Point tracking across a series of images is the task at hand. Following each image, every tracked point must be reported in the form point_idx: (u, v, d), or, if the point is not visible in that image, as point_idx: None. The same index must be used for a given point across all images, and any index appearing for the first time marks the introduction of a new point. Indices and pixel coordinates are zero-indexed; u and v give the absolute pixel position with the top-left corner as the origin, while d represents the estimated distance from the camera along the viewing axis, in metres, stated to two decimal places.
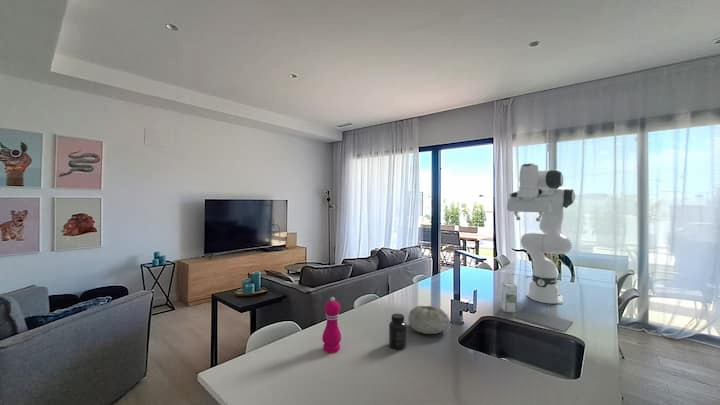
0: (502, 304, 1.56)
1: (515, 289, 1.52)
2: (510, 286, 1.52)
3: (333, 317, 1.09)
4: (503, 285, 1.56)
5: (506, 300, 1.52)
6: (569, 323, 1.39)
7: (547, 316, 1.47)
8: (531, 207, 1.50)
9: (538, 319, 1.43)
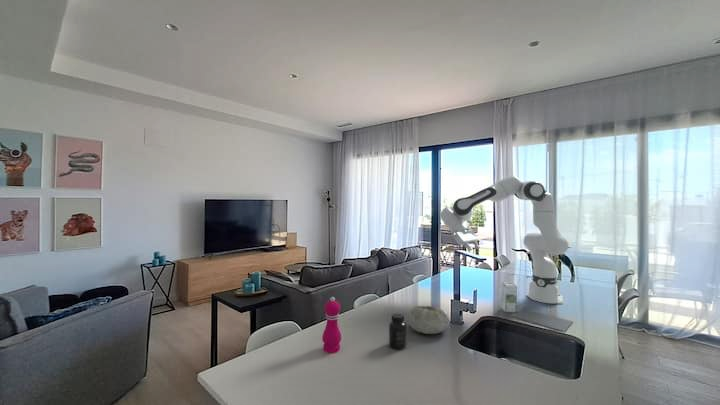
0: (502, 304, 1.56)
1: (515, 289, 1.52)
2: (510, 286, 1.52)
3: (333, 317, 1.09)
4: (503, 285, 1.56)
5: (506, 300, 1.52)
6: (569, 323, 1.39)
7: (547, 316, 1.47)
8: None
9: (538, 319, 1.43)
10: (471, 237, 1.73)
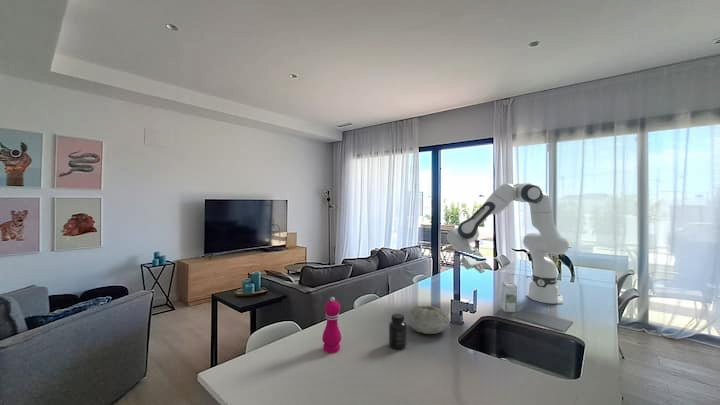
0: (502, 304, 1.56)
1: (515, 289, 1.52)
2: (510, 286, 1.52)
3: (333, 317, 1.09)
4: (503, 285, 1.56)
5: (506, 300, 1.52)
6: (569, 323, 1.39)
7: (547, 316, 1.47)
8: None
9: (538, 319, 1.43)
10: None
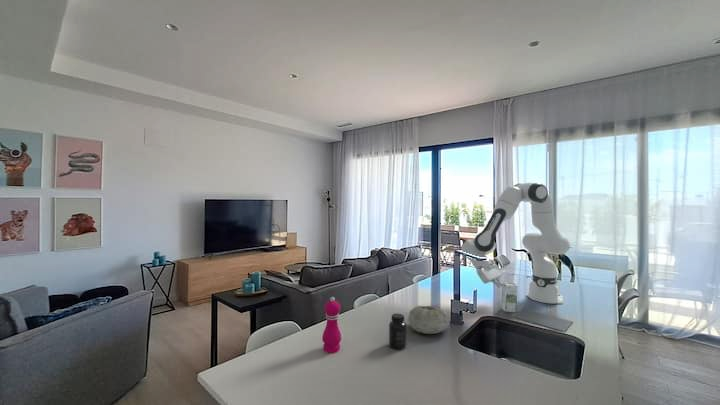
0: (502, 304, 1.56)
1: (515, 289, 1.52)
2: (510, 286, 1.52)
3: (333, 317, 1.09)
4: (503, 285, 1.56)
5: (507, 300, 1.52)
6: (569, 323, 1.39)
7: (547, 316, 1.47)
8: None
9: (538, 319, 1.43)
10: (496, 273, 1.63)
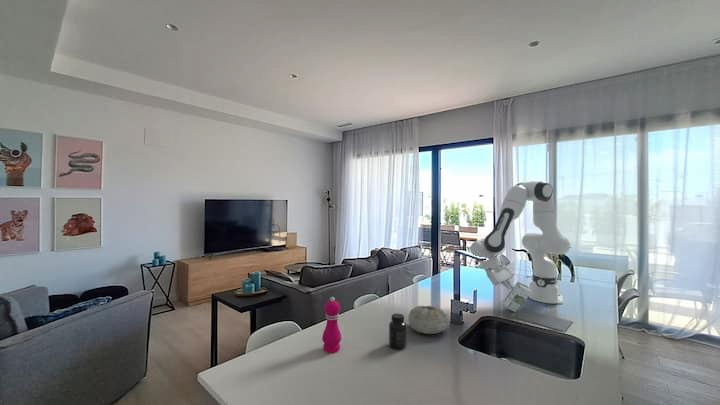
0: (506, 300, 1.55)
1: (527, 293, 1.48)
2: (524, 289, 1.48)
3: (333, 317, 1.09)
4: (517, 285, 1.52)
5: (514, 299, 1.50)
6: (569, 323, 1.39)
7: (547, 316, 1.47)
8: None
9: (538, 319, 1.43)
10: (506, 274, 1.59)
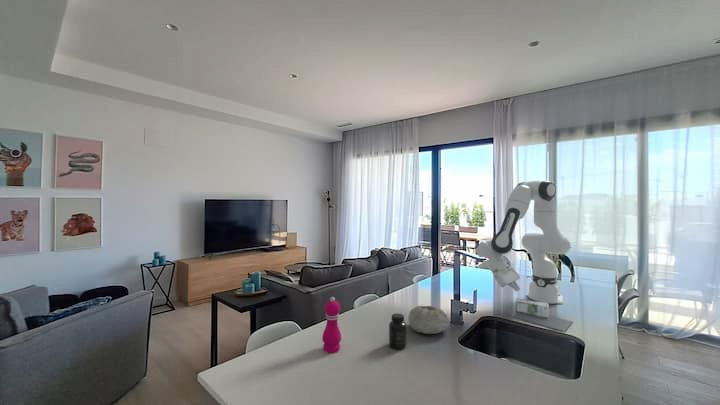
0: (522, 299, 1.54)
1: (543, 315, 1.46)
2: (547, 310, 1.45)
3: (333, 317, 1.09)
4: (545, 304, 1.49)
5: (530, 304, 1.49)
6: (569, 323, 1.39)
7: None
8: None
9: (538, 319, 1.43)
10: (513, 276, 1.56)
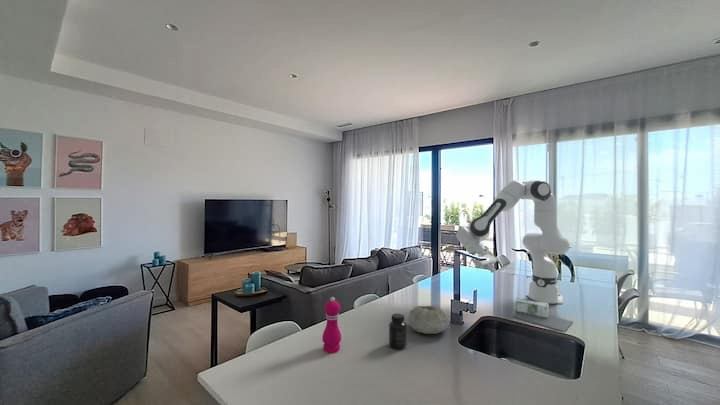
0: (522, 299, 1.54)
1: (543, 315, 1.46)
2: (547, 310, 1.45)
3: (333, 317, 1.09)
4: (545, 304, 1.49)
5: (530, 304, 1.49)
6: (569, 323, 1.39)
7: None
8: None
9: (538, 319, 1.43)
10: None
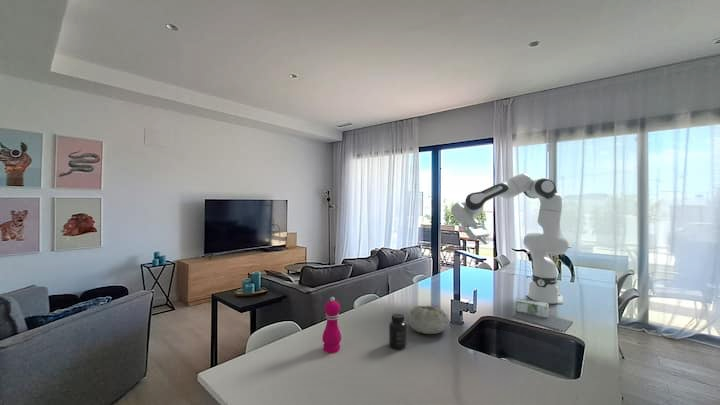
0: (522, 299, 1.54)
1: (543, 315, 1.46)
2: (547, 310, 1.45)
3: (333, 317, 1.09)
4: (545, 304, 1.49)
5: (530, 304, 1.49)
6: (569, 323, 1.39)
7: None
8: None
9: (538, 319, 1.43)
10: (483, 232, 1.73)
